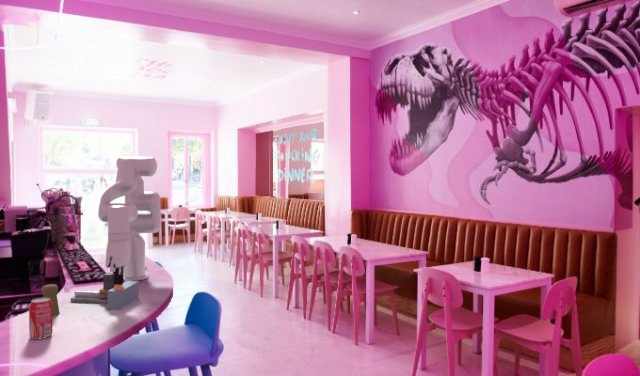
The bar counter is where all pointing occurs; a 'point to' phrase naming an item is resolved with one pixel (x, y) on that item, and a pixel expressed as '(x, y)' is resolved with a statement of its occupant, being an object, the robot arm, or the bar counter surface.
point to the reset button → (118, 287)
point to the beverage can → (40, 318)
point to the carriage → (106, 285)
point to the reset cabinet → (123, 295)
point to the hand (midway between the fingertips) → (118, 284)
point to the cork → (51, 297)
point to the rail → (88, 297)
